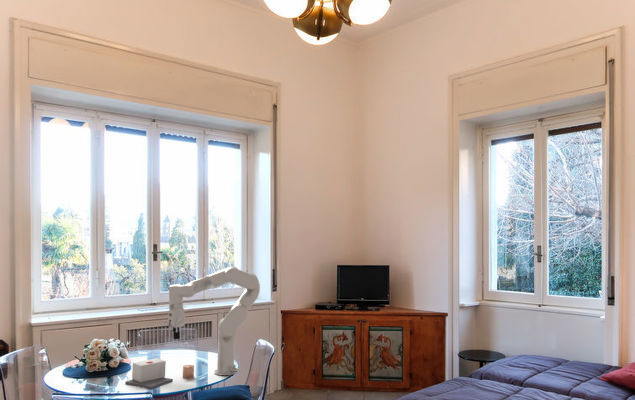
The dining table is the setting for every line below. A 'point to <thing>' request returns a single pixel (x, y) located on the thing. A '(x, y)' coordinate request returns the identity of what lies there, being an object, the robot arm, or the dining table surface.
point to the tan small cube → (188, 371)
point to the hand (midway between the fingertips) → (176, 338)
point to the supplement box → (148, 370)
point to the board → (149, 383)
